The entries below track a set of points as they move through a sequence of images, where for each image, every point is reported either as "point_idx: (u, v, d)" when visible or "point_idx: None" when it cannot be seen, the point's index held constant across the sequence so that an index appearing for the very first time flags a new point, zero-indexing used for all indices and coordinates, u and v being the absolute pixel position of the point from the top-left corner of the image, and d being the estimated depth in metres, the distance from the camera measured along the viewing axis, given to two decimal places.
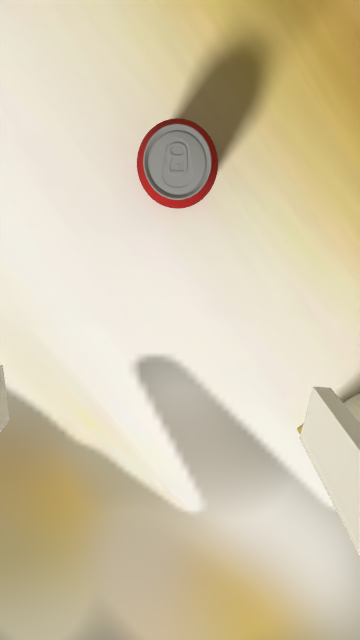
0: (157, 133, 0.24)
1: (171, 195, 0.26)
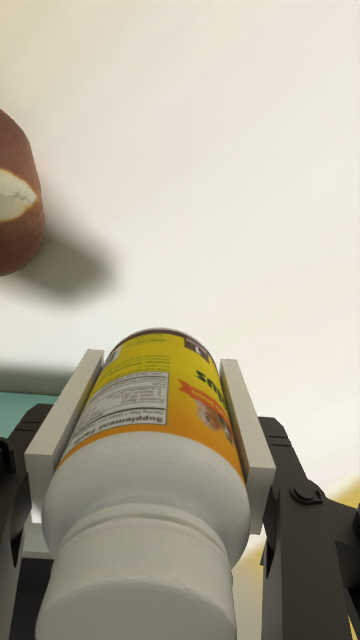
0: None
1: None
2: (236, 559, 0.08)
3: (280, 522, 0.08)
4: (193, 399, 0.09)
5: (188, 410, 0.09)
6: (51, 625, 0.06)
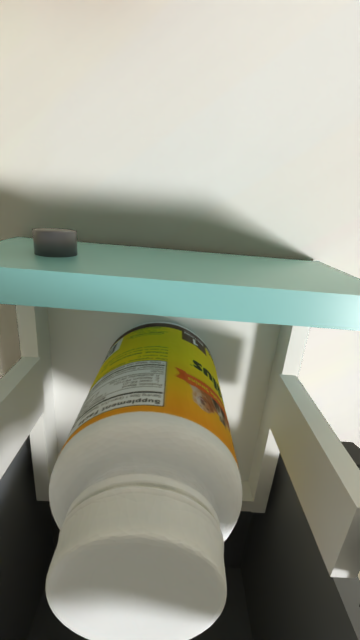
0: None
1: None
2: (228, 530, 0.09)
3: None
4: (190, 385, 0.10)
5: (184, 394, 0.10)
6: (60, 579, 0.06)
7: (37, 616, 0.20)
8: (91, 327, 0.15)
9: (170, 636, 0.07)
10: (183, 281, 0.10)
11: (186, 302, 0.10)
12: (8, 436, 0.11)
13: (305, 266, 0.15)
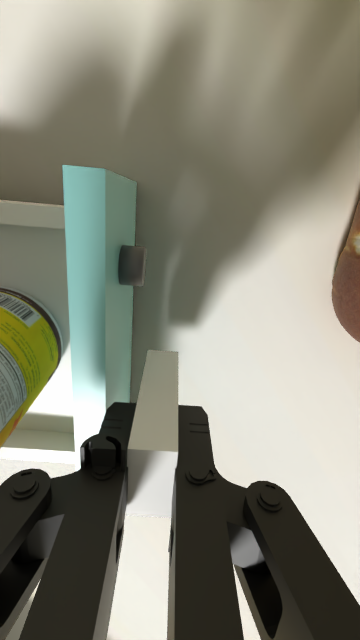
0: None
1: None
2: None
3: (175, 509, 0.08)
4: (8, 435, 0.11)
5: (0, 444, 0.10)
6: None
7: None
8: (46, 270, 0.15)
9: None
10: None
11: (86, 416, 0.12)
12: None
13: None
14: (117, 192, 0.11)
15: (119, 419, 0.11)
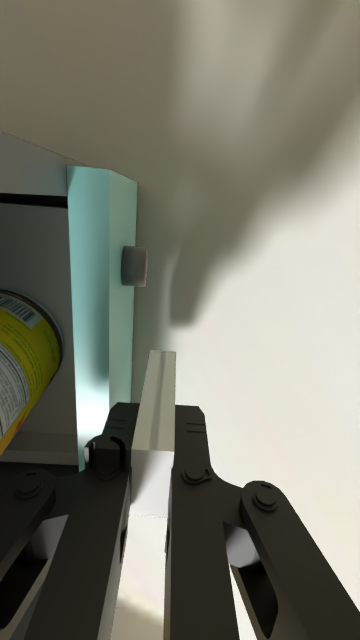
0: None
1: None
2: None
3: (171, 509, 0.08)
4: (11, 438, 0.11)
5: (3, 447, 0.10)
6: None
7: None
8: (47, 271, 0.15)
9: None
10: None
11: (90, 417, 0.12)
12: None
13: None
14: (120, 193, 0.11)
15: (122, 419, 0.11)
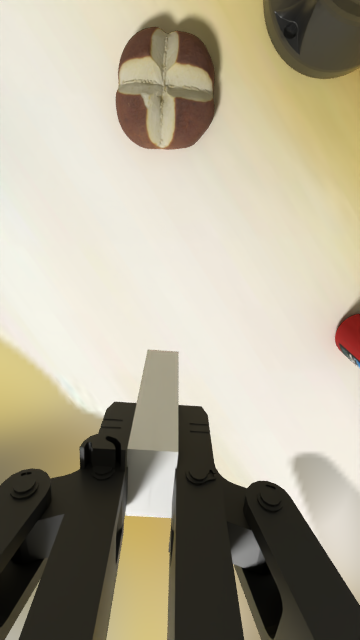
0: None
1: None
2: None
3: (176, 509, 0.08)
4: None
5: None
6: None
7: None
8: None
9: None
10: None
11: None
12: None
13: None
14: None
15: (119, 419, 0.11)
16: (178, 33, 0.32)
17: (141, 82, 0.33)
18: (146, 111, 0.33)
